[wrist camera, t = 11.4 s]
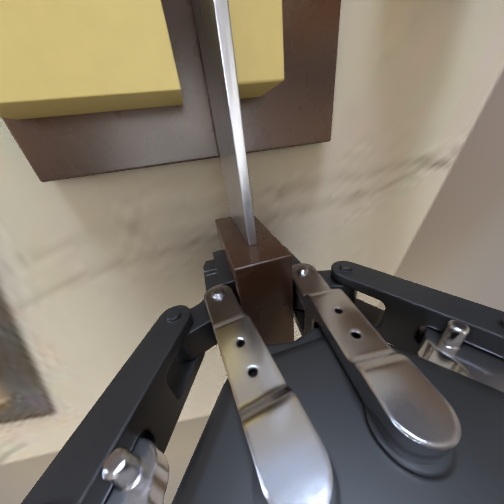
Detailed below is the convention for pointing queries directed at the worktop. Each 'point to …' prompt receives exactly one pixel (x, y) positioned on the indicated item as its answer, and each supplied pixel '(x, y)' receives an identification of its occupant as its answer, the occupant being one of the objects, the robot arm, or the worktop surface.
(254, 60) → the butter pat
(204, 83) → the butter board
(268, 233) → the knife
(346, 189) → the worktop surface
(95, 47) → the butter stick
